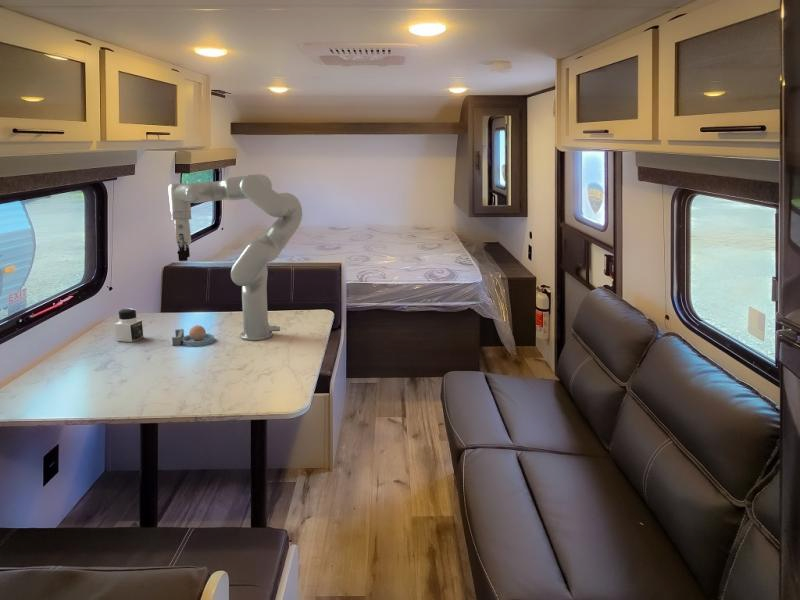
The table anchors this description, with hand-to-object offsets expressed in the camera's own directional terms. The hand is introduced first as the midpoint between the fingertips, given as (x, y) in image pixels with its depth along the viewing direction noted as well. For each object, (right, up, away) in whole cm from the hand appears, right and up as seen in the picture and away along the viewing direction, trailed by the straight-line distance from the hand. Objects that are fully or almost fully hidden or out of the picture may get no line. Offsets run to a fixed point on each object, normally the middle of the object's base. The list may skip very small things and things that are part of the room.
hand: (184, 259), depth 232 cm
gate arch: (0, -32, -4) cm, 32 cm away
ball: (+7, -32, -6) cm, 33 cm away
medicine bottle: (-20, -32, -2) cm, 38 cm away
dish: (+7, -32, -5) cm, 34 cm away
